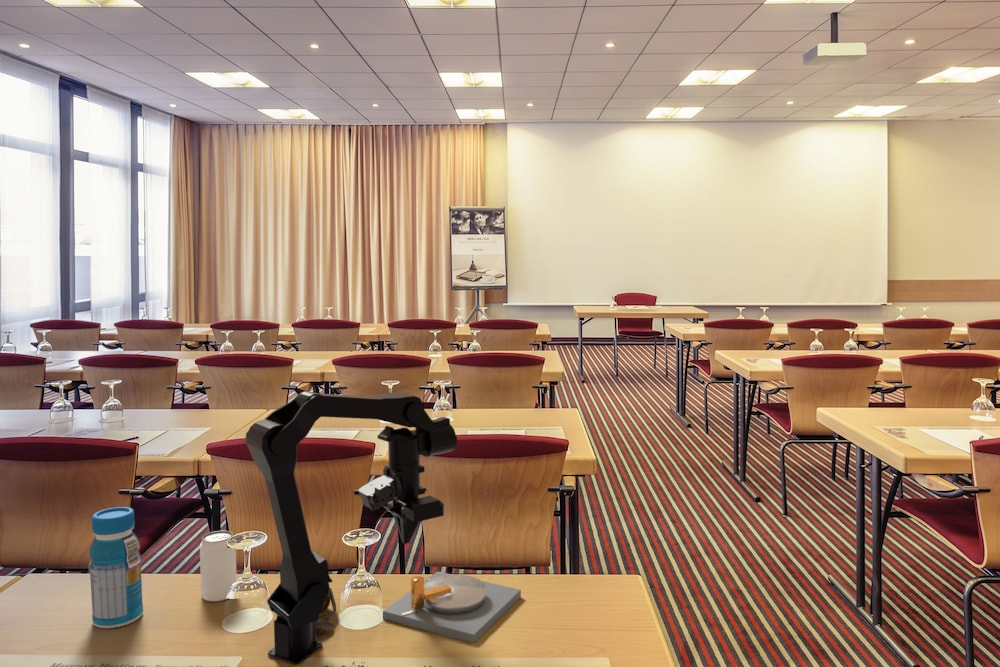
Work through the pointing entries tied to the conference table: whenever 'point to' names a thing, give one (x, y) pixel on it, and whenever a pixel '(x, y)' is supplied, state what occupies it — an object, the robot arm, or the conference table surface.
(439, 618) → the dial plate
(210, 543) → the can
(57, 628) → the conference table surface
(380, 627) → the conference table surface
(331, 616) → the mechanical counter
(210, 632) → the conference table surface
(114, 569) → the beverage bottle
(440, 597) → the dial
